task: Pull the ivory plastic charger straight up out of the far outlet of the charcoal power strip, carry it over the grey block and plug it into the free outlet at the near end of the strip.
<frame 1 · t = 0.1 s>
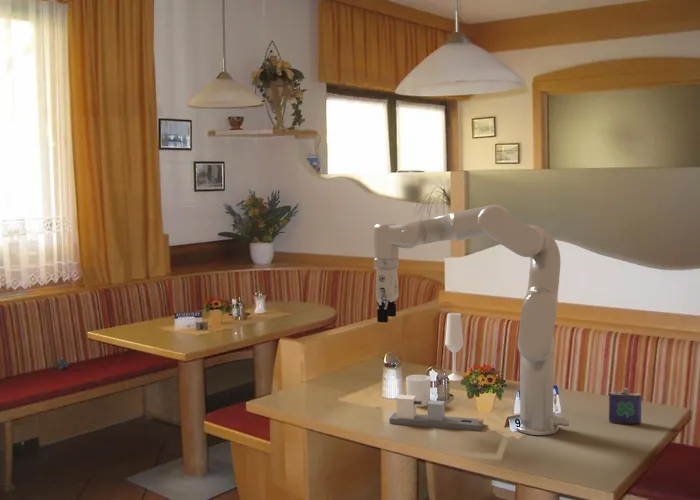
hand: (386, 319, 242), 31 cm above the table, fingers open, 9 cm apart
grey block: (436, 423, 234), point 1 cm above the table, touching strip
champagne flute: (454, 378, 290), on the table
white cup: (418, 408, 255), on the table
strip: (436, 428, 234), on the table
ivory charger: (406, 421, 237), point 1 cm above the table, touching strip
flask: (624, 423, 236), on the table
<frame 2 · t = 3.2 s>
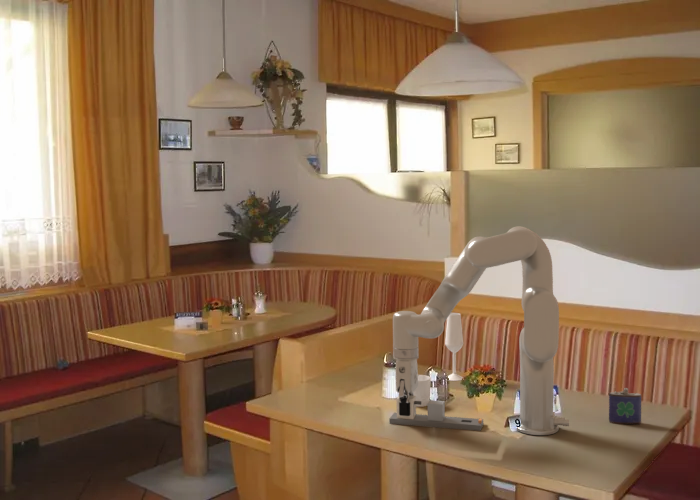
hand: (406, 412, 236), 4 cm above the table, fingers closed on ivory charger, 4 cm apart
ivory charger: (406, 421, 237), point 2 cm above the table, touching gripper, strip
everything else where it was.
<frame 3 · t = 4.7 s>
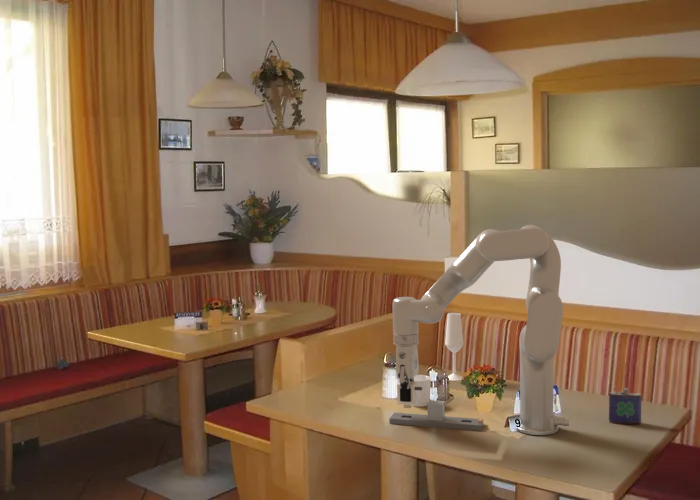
hand: (407, 398, 236), 9 cm above the table, fingers closed on ivory charger, 4 cm apart
ivory charger: (407, 407, 236), point 6 cm above the table, touching gripper
everything else where it was.
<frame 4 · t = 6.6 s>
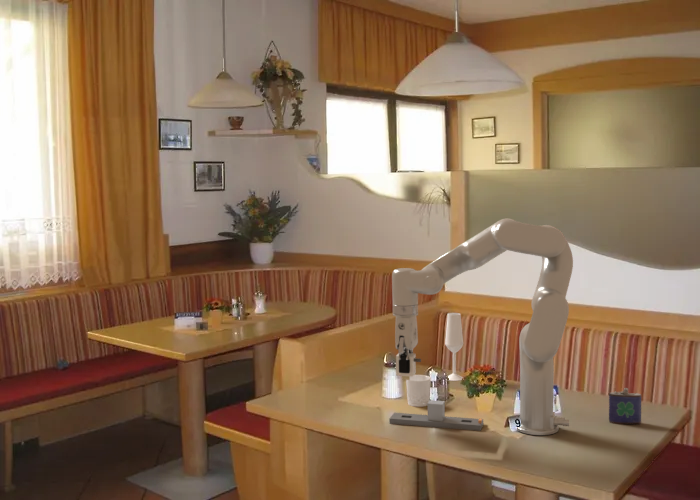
hand: (406, 370, 235), 17 cm above the table, fingers closed on ivory charger, 4 cm apart
ivory charger: (406, 379, 235), point 14 cm above the table, touching gripper
everything else where it was.
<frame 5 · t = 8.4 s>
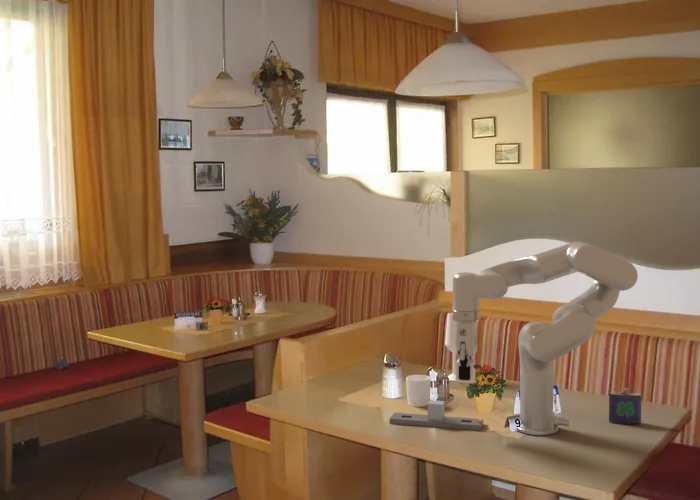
hand: (465, 377, 230), 16 cm above the table, fingers closed on ivory charger, 4 cm apart
ivory charger: (465, 386, 230), point 14 cm above the table, touching gripper
everything else where it was.
when the fingers open (5 cm above the table, at t = 10.2 s): ivory charger stays where it is, resting on strip.
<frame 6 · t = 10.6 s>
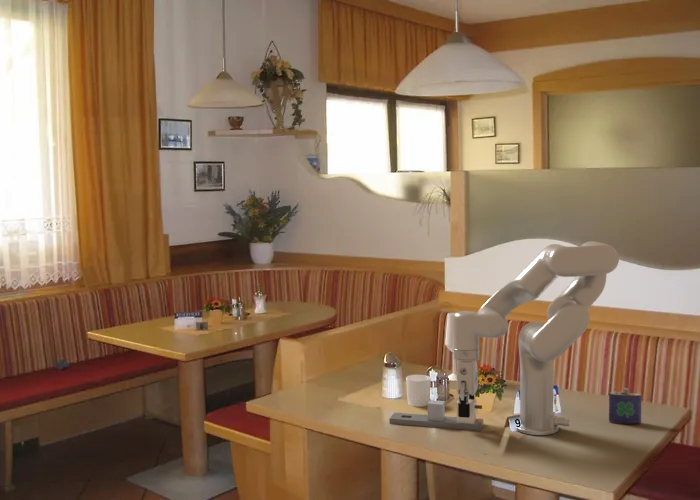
hand: (466, 412, 231), 6 cm above the table, fingers open, 8 cm apart
ivory charger: (466, 426, 231), point 1 cm above the table, touching strip
everything else where it was.
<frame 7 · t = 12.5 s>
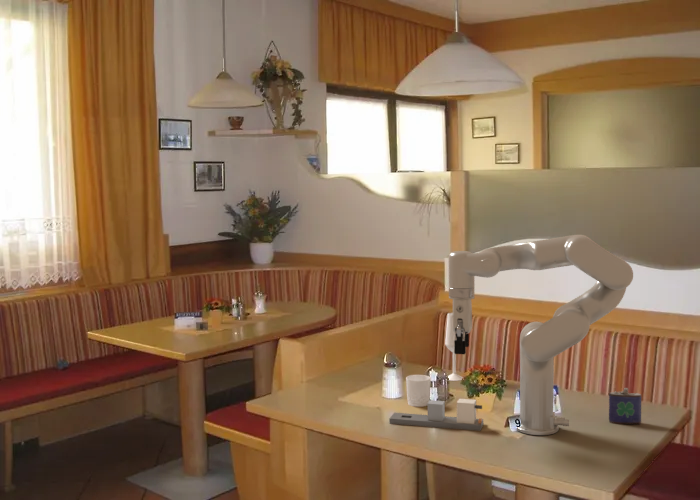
hand: (461, 350, 234), 23 cm above the table, fingers open, 9 cm apart
nothing on the table moved.
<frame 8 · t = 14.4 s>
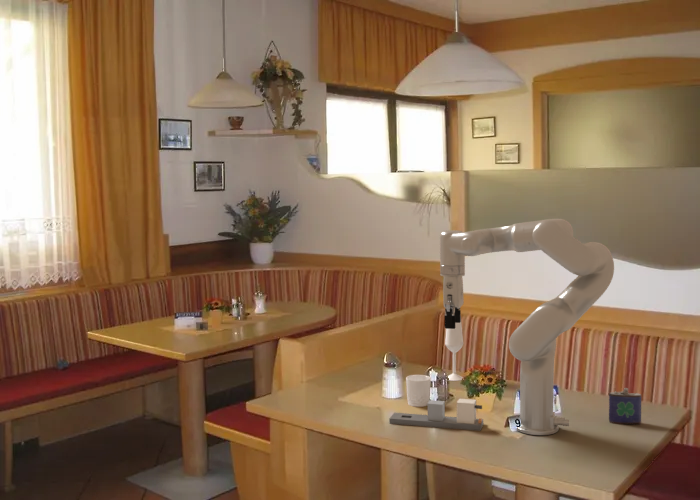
hand: (452, 325, 245), 28 cm above the table, fingers open, 9 cm apart
nothing on the table moved.
at the end: ivory charger 0.0 cm from the target spot on the strip, point 1.5 cm above the strip's base; ivory charger tilted 0°; grey block moved 0.1 cm from its start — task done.
